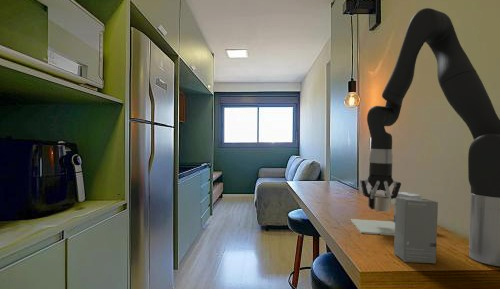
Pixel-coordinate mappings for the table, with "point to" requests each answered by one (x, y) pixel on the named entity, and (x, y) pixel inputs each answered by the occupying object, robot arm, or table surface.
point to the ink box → (405, 194)
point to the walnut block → (381, 203)
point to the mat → (374, 227)
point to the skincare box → (416, 230)
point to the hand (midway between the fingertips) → (379, 209)
